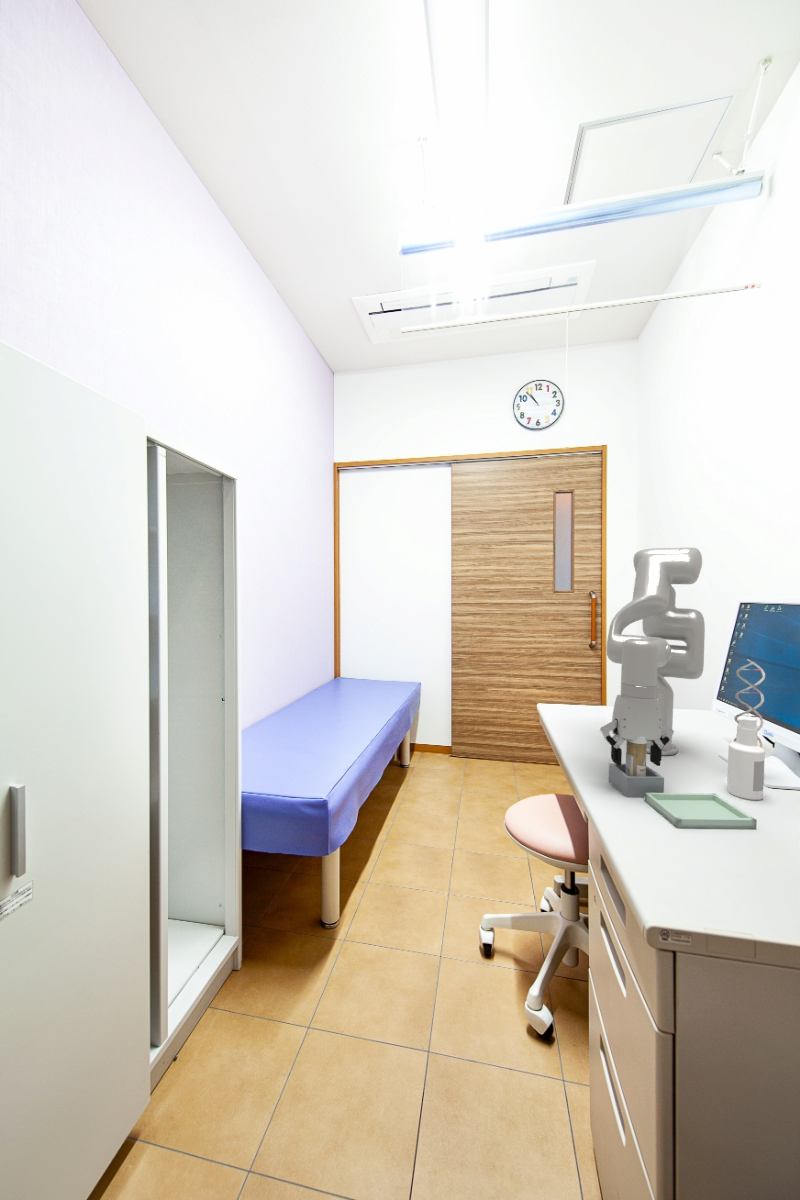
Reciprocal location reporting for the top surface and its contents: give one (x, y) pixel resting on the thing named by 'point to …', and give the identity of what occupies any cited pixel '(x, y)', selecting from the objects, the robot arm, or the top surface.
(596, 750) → the top surface
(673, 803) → the tray
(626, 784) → the holder
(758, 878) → the top surface
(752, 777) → the white bottle
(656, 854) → the top surface
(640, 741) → the sprinkles bottle
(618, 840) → the top surface
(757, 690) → the dna model
